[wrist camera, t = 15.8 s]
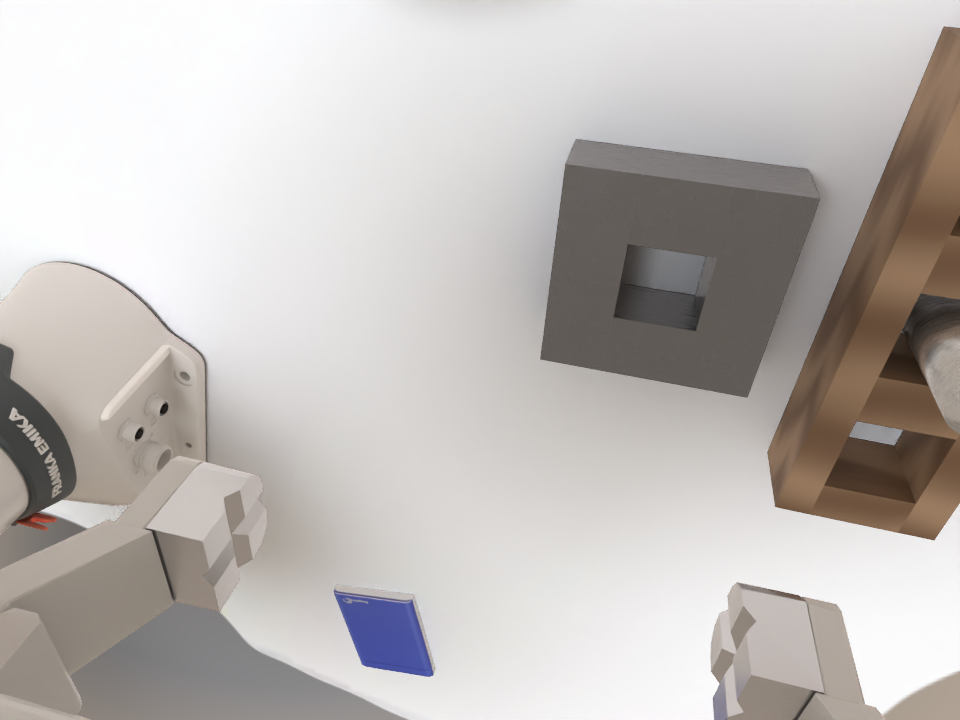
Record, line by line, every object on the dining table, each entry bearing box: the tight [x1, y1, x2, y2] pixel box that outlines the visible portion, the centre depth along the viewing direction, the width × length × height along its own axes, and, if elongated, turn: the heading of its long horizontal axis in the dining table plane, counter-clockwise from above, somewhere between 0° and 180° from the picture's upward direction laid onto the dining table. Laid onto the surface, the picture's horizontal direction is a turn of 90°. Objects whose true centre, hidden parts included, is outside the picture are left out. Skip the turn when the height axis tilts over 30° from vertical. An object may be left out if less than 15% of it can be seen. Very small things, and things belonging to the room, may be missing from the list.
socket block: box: [540, 139, 820, 397], centre depth 38 cm, size 12×12×4 cm
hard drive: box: [334, 585, 435, 677], centre depth 69 cm, size 2×8×12 cm
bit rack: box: [768, 27, 960, 540], centre depth 35 cm, size 26×9×5 cm, turn 177°
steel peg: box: [902, 293, 960, 434], centre depth 33 cm, size 3×3×10 cm
